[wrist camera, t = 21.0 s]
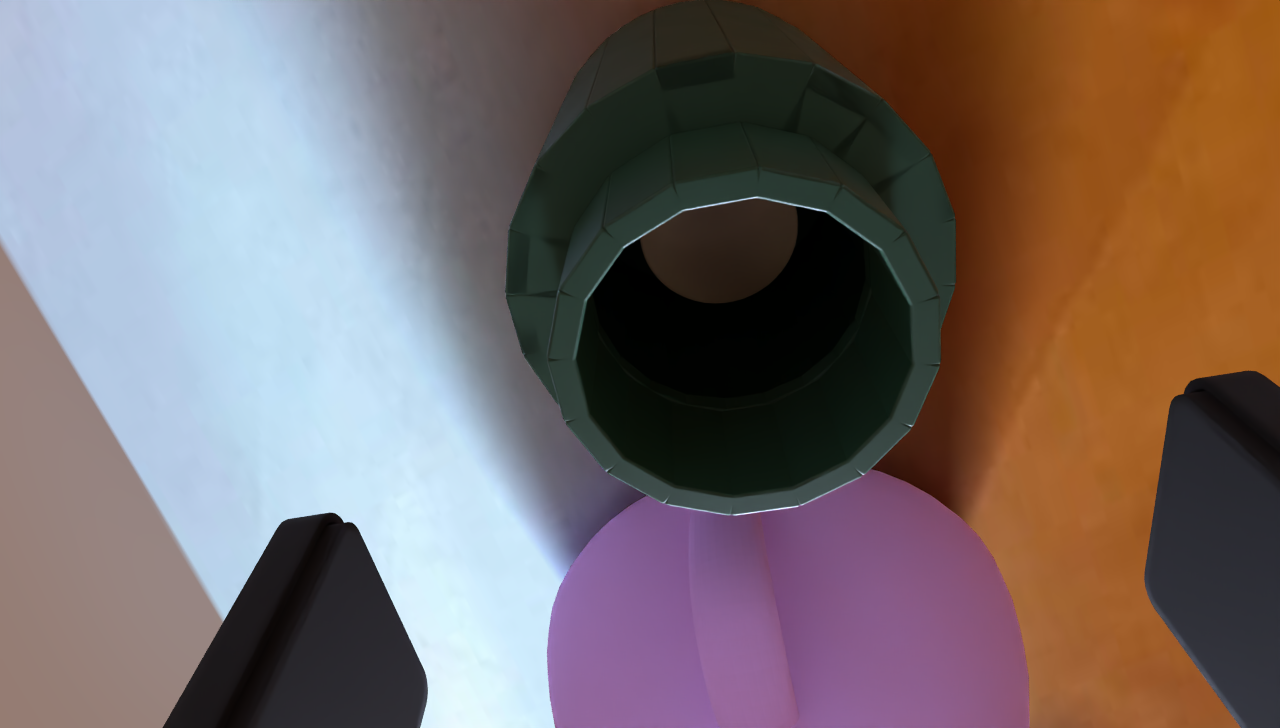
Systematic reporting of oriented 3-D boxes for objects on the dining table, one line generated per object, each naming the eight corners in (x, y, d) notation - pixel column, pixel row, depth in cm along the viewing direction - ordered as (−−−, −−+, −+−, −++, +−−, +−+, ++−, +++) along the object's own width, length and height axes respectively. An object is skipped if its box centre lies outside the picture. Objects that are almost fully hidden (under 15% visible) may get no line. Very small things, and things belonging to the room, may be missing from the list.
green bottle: (591, 312, 28) (549, 589, 17) (524, 33, 24) (405, 150, 12) (858, 267, 27) (1008, 528, 16) (839, -31, 23) (1026, 30, 11)
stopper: (658, 235, 26) (659, 318, 21) (628, 117, 24) (621, 174, 19) (776, 208, 26) (809, 286, 20) (755, 85, 24) (785, 135, 19)
